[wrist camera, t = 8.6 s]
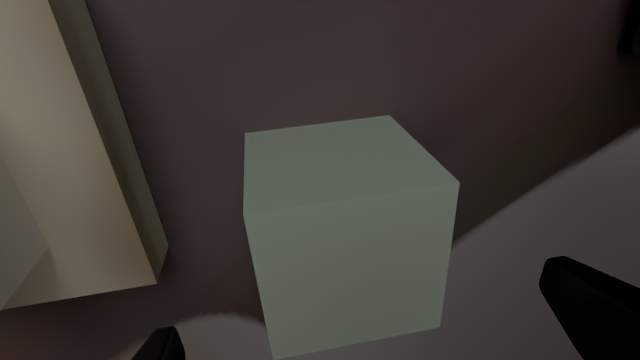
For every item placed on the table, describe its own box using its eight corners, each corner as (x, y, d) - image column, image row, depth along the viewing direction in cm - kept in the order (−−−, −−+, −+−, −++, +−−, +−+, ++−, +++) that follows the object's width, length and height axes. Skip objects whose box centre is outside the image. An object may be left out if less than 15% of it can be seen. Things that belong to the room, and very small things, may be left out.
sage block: (388, 114, 13) (459, 182, 9) (385, 229, 15) (440, 327, 11) (245, 132, 12) (243, 215, 8) (265, 248, 15) (273, 360, 10)
